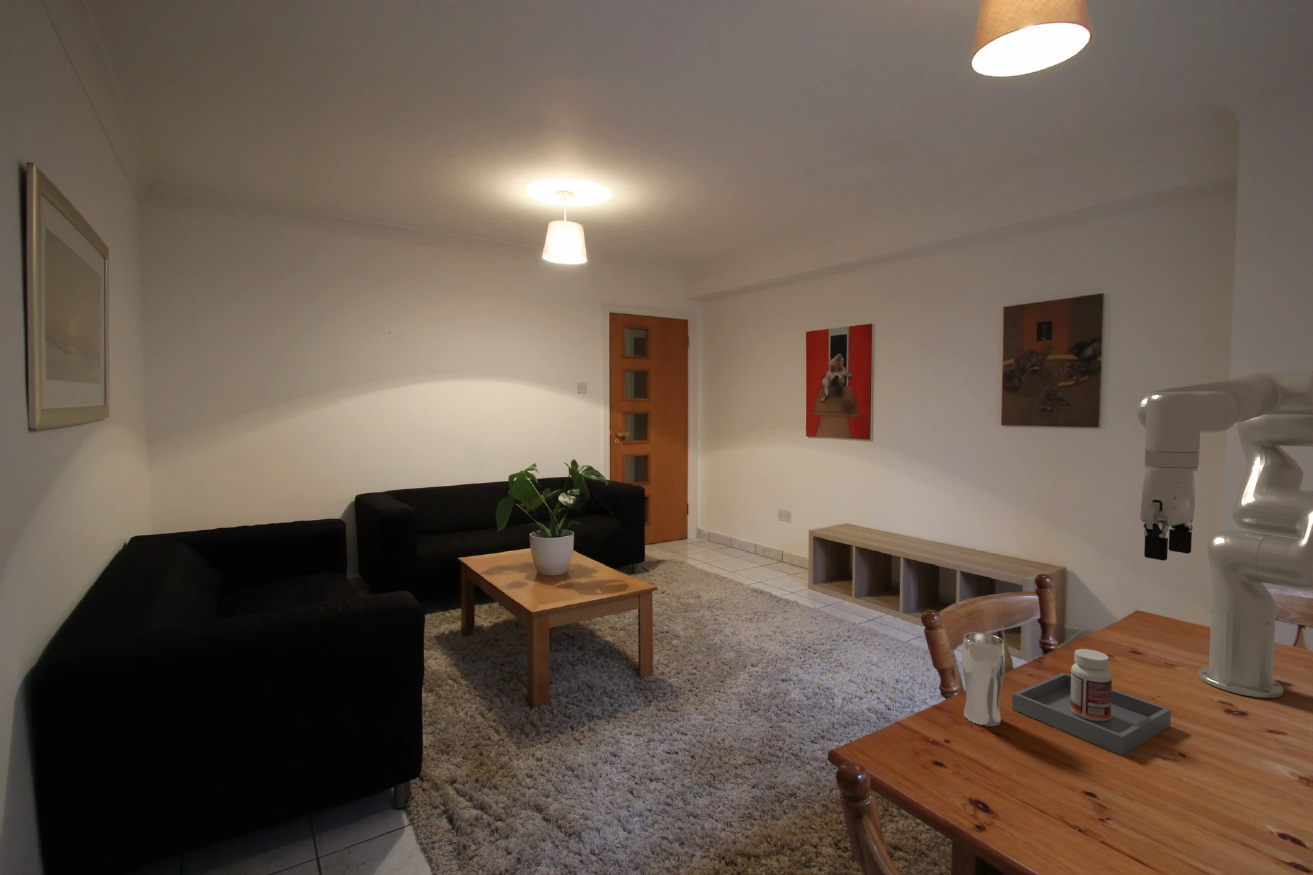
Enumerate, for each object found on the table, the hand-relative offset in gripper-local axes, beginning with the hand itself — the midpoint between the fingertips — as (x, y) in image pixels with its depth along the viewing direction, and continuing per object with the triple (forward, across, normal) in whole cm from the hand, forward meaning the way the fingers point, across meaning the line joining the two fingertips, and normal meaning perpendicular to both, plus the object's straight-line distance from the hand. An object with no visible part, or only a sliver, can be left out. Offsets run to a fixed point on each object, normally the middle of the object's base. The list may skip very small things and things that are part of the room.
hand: (1167, 555), depth 112 cm
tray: (+30, +11, -7) cm, 33 cm away
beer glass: (+31, +28, -17) cm, 45 cm away
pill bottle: (+30, +11, -7) cm, 33 cm away
